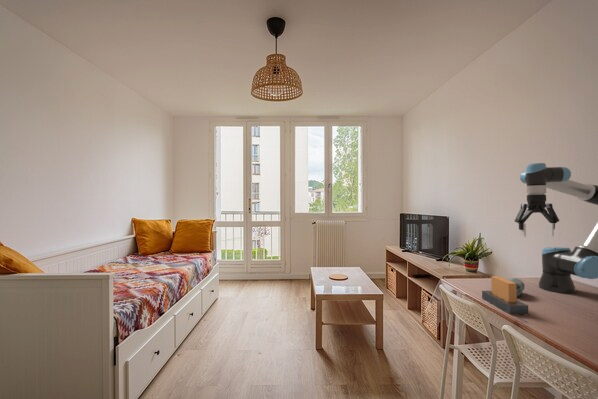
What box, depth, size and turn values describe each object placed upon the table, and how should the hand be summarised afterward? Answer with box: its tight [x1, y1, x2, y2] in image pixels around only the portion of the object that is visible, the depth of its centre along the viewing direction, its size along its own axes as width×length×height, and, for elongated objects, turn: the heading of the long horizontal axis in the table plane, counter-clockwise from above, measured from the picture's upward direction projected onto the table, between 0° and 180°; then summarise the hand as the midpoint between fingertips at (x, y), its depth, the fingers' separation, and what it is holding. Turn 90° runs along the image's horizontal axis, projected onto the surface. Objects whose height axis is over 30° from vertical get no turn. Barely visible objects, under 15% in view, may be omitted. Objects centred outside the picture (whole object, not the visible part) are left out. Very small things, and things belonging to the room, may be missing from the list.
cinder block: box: [481, 290, 529, 316], centre depth 135 cm, size 8×20×4 cm, turn 178°
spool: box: [507, 277, 525, 298], centre depth 151 cm, size 14×10×10 cm
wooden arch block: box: [490, 275, 518, 302], centre depth 135 cm, size 4×12×12 cm, turn 178°
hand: (536, 236), depth 143 cm, fingers open, 13 cm apart
